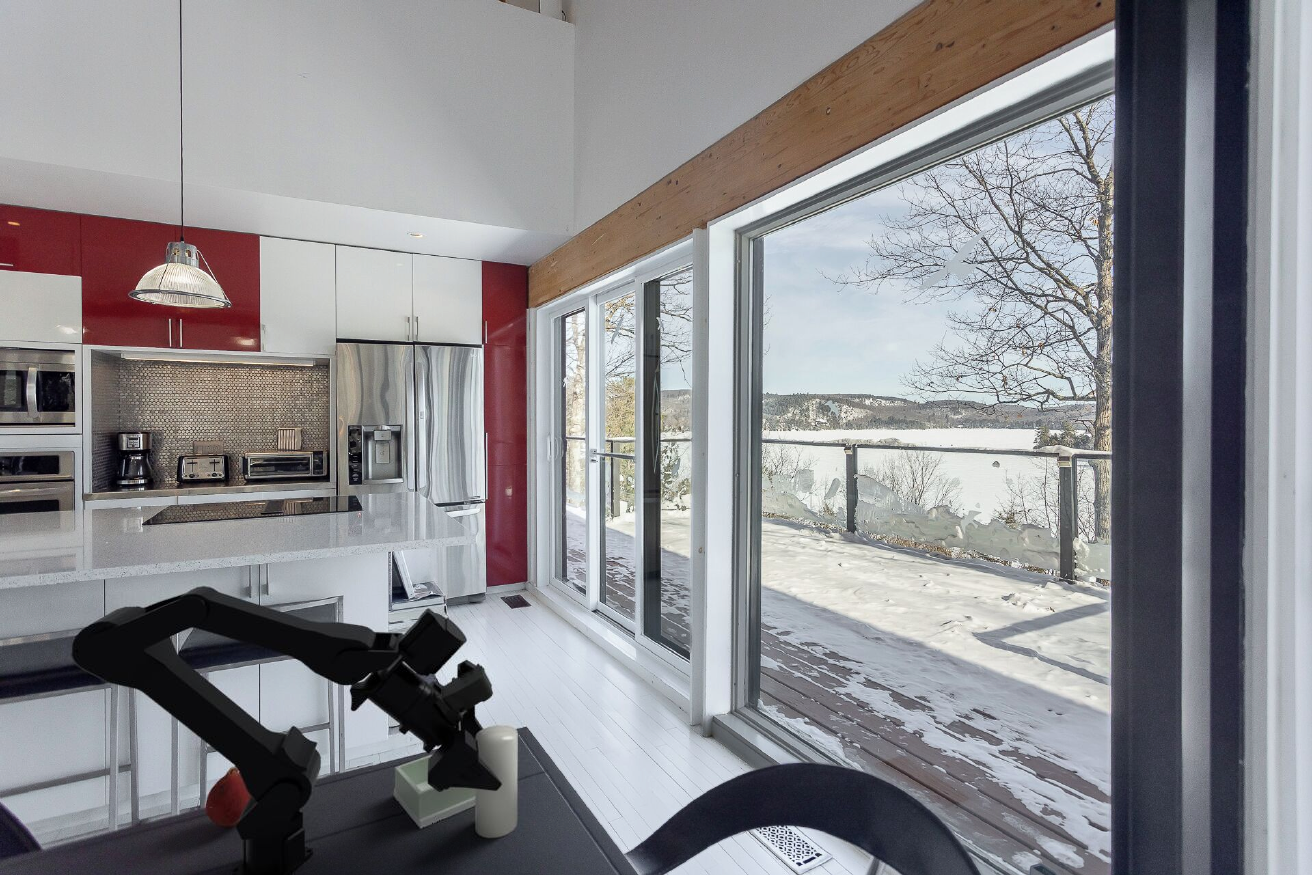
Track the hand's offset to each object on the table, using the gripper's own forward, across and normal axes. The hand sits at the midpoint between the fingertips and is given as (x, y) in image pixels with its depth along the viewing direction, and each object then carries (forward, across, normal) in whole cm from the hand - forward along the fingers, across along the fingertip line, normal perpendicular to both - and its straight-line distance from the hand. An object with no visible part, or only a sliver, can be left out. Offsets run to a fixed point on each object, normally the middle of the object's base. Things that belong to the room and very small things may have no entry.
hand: (497, 768), depth 87 cm
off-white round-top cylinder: (+6, 0, +6) cm, 8 cm away
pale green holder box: (+1, +9, +10) cm, 14 cm away
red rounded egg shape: (-19, +10, +30) cm, 37 cm away
